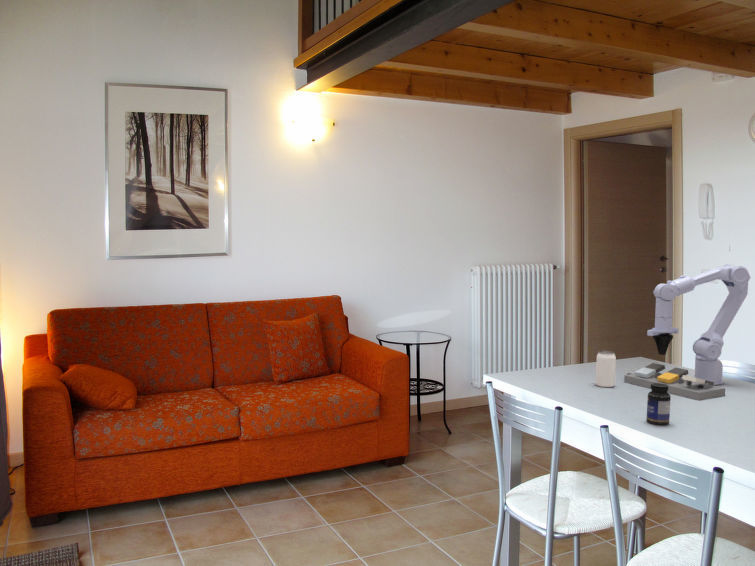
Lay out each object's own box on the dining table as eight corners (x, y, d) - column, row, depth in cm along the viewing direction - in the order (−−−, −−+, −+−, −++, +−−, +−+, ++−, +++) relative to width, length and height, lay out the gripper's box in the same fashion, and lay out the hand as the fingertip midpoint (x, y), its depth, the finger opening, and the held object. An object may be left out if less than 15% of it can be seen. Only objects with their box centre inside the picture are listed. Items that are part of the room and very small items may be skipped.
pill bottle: (642, 419, 200) (644, 382, 199) (662, 419, 201) (664, 382, 200) (652, 425, 194) (654, 387, 193) (673, 425, 195) (675, 387, 194)
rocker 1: (653, 366, 253) (653, 362, 252) (665, 368, 248) (664, 365, 248) (635, 375, 248) (634, 371, 248) (646, 378, 244) (646, 374, 243)
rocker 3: (699, 383, 236) (700, 379, 236) (713, 386, 232) (714, 382, 232) (682, 379, 231) (682, 375, 231) (695, 382, 227) (696, 377, 227)
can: (615, 388, 240) (617, 354, 239) (596, 387, 241) (597, 353, 240) (613, 384, 246) (614, 351, 245) (594, 383, 247) (595, 350, 246)
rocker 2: (676, 371, 244) (675, 367, 244) (688, 373, 240) (688, 370, 240) (657, 380, 240) (657, 376, 239) (669, 383, 235) (669, 379, 235)
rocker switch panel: (639, 375, 261) (640, 364, 260) (725, 395, 231) (725, 382, 230) (614, 379, 254) (614, 367, 253) (698, 400, 224) (699, 387, 223)
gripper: (667, 314, 254) (665, 351, 255) (640, 316, 247) (639, 354, 248) (684, 316, 248) (682, 354, 249) (657, 319, 241) (655, 357, 242)
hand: (662, 354), depth 248 cm, fingers closed
